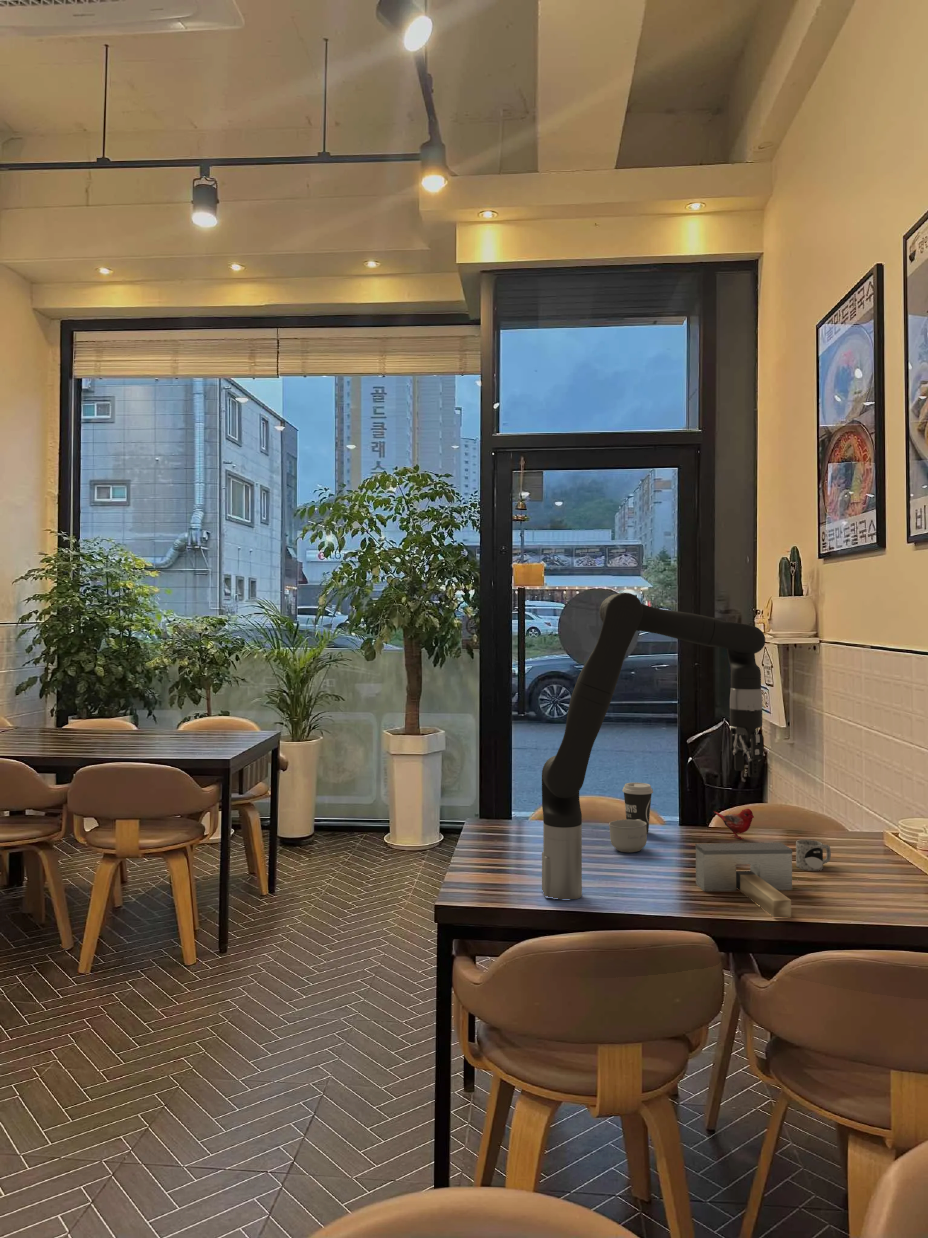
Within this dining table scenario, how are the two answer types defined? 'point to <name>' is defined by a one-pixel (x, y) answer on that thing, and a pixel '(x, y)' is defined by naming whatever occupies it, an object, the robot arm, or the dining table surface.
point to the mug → (811, 855)
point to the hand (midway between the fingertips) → (746, 773)
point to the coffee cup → (638, 801)
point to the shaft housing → (722, 858)
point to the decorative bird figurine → (738, 821)
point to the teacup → (628, 835)
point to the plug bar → (763, 894)
